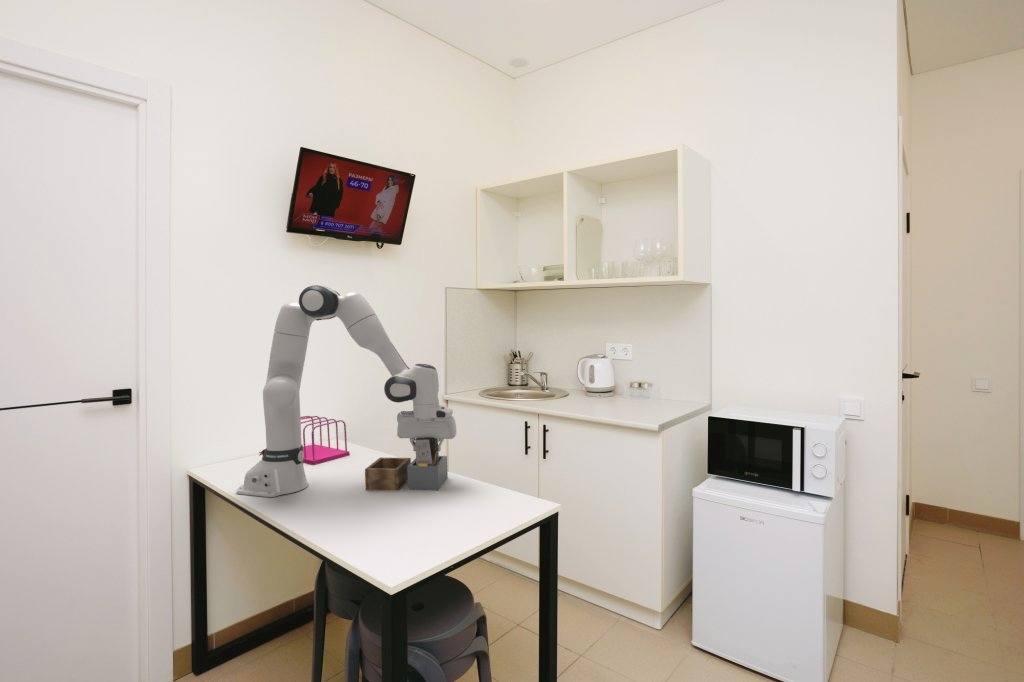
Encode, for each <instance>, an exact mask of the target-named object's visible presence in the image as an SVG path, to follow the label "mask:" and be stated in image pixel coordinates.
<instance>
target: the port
mask: <svg viewBox="0 0 1024 682" xmlns="http://www.w3.org/2000/svg"><path fill="white" fill-rule="evenodd" d="M407 472H408V481H407V490H408V491H437V492H438V491H440V489H441V488H442V486H443V485H444V484H445V482H446V481H447V480H448V476H449V475H448V455H439V462H438V463H437V464H436V465H435V466H428V463H419V464H418V465H416V458H415V459H413V461H411V463H410V464H409V465H408V466H407ZM446 479H447V480H446Z"/></svg>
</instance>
